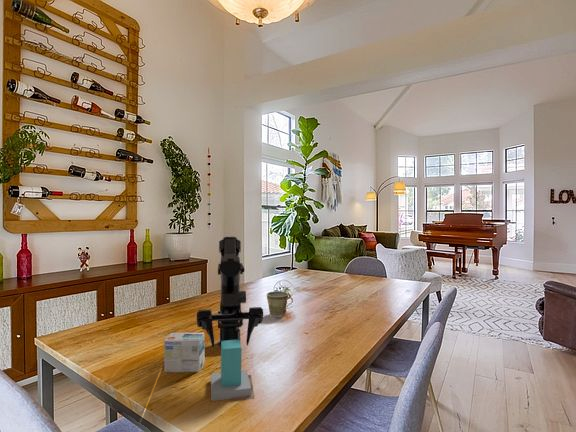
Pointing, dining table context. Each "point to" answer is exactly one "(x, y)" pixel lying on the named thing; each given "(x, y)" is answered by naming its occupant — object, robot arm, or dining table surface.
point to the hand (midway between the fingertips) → (230, 346)
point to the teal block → (230, 363)
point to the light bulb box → (184, 352)
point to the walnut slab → (246, 396)
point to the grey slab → (229, 387)
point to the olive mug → (277, 303)
